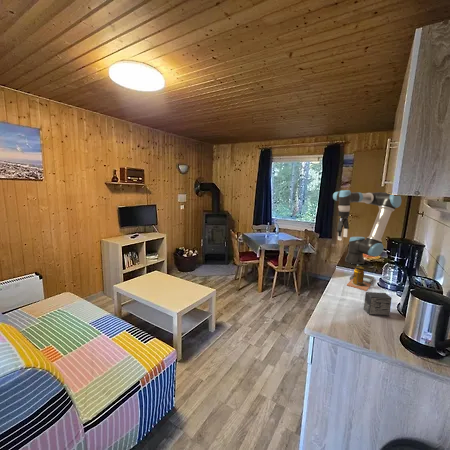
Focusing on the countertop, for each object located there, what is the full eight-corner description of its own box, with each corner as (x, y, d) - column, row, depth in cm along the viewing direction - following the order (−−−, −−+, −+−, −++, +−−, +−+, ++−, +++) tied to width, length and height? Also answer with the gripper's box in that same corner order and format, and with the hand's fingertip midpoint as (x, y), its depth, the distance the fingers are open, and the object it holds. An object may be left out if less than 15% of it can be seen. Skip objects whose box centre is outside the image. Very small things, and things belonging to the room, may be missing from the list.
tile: (351, 280, 170) (351, 279, 170) (370, 285, 162) (370, 284, 162) (346, 285, 161) (346, 284, 161) (366, 291, 153) (366, 289, 153)
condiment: (350, 281, 166) (352, 265, 164) (362, 282, 165) (364, 265, 163) (355, 286, 158) (357, 269, 156) (368, 286, 158) (370, 269, 156)
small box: (383, 310, 130) (385, 292, 129) (390, 316, 124) (392, 298, 122) (362, 308, 131) (365, 291, 130) (368, 315, 125) (371, 296, 123)
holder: (354, 274, 181) (354, 272, 180) (374, 279, 172) (374, 277, 172) (349, 279, 171) (349, 277, 171) (370, 285, 163) (370, 282, 162)
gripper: (343, 209, 189) (342, 235, 193) (333, 212, 171) (331, 241, 175) (354, 209, 184) (352, 236, 188) (344, 213, 166) (342, 242, 170)
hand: (342, 238), depth 181 cm, fingers open, 13 cm apart
